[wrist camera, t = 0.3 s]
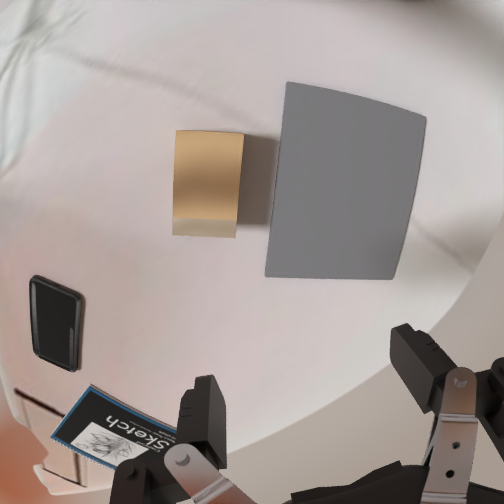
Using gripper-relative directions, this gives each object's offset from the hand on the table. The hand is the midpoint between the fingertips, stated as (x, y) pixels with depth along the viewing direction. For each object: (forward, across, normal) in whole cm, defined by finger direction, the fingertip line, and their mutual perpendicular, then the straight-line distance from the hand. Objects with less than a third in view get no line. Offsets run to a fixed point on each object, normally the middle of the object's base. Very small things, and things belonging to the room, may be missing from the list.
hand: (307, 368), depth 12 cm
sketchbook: (+23, +37, +34) cm, 55 cm away
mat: (+20, -10, -3) cm, 22 cm away
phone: (+20, +30, +5) cm, 37 cm away
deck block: (+19, +4, -7) cm, 21 cm away
